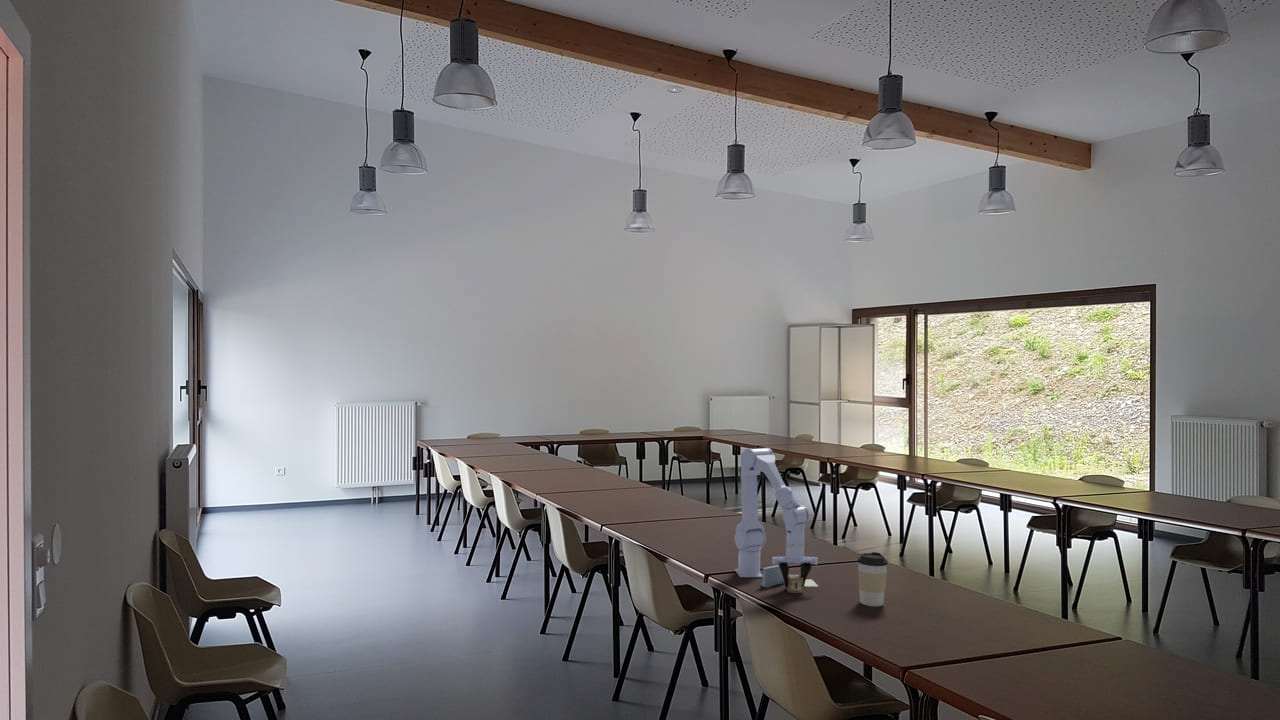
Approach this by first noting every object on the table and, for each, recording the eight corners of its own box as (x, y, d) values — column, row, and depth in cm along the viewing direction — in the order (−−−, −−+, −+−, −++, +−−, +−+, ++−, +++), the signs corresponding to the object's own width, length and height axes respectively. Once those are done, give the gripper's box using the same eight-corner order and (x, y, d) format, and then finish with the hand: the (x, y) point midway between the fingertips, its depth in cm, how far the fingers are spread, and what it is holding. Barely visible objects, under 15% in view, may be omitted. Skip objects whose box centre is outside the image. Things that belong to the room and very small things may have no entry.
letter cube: (785, 588, 272) (785, 573, 272) (799, 588, 272) (799, 573, 272) (788, 593, 267) (789, 577, 267) (803, 593, 267) (803, 577, 267)
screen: (760, 585, 274) (760, 567, 274) (780, 581, 281) (781, 563, 281) (767, 588, 272) (767, 569, 272) (787, 583, 278) (788, 565, 278)
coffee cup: (880, 609, 251) (881, 559, 251) (851, 603, 257) (852, 554, 257) (891, 602, 259) (892, 554, 259) (863, 596, 264) (864, 549, 264)
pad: (788, 580, 282) (788, 579, 282) (811, 580, 282) (812, 579, 282) (794, 587, 274) (794, 585, 274) (818, 587, 274) (818, 586, 274)
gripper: (775, 546, 265) (774, 589, 265) (820, 547, 266) (819, 589, 266) (770, 541, 272) (769, 583, 272) (814, 542, 273) (813, 583, 273)
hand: (794, 586), depth 270 cm, fingers closed on letter cube, 5 cm apart
